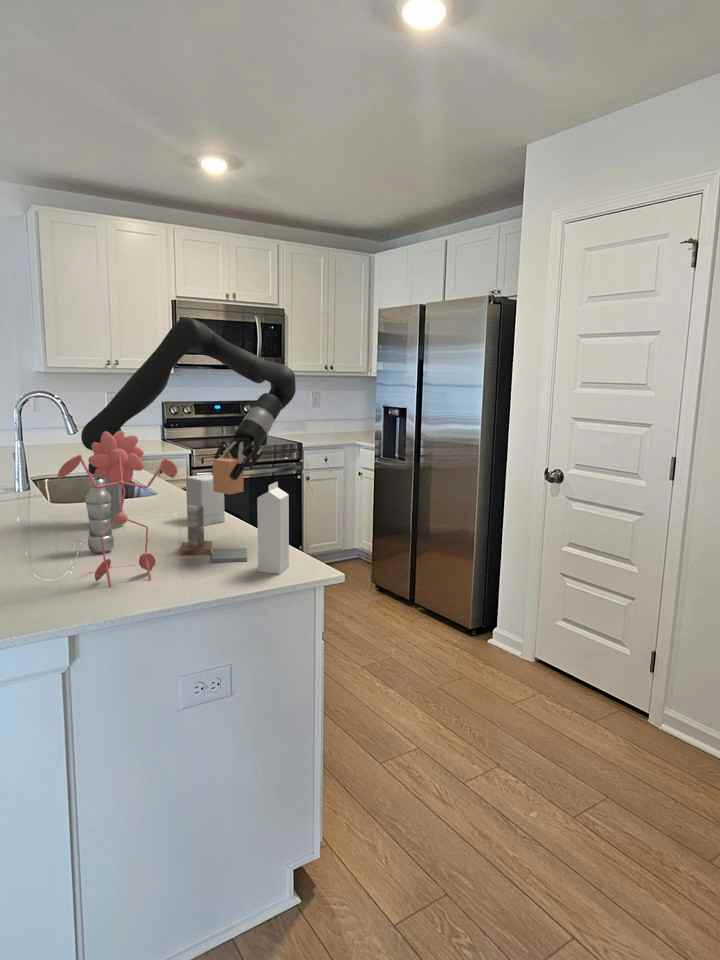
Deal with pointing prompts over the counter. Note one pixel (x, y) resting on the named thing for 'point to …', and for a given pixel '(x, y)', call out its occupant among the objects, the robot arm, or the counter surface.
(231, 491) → the tall orange box
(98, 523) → the plastic bottle
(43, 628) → the counter surface
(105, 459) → the figurine
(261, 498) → the milk
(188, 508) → the post stand
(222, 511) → the supplement box
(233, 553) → the mat
